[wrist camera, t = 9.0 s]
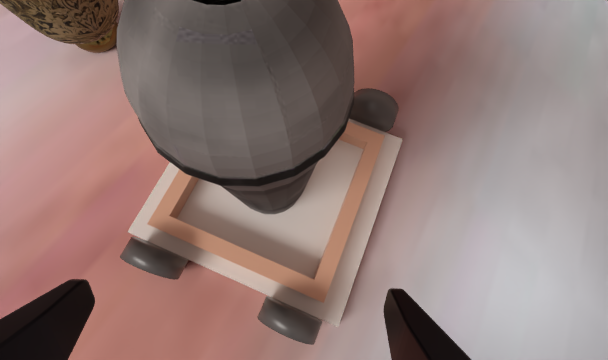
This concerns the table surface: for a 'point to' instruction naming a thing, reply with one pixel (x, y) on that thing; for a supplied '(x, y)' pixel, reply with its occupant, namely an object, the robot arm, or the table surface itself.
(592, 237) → the table surface
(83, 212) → the table surface
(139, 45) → the beverage cup
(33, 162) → the table surface
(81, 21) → the cup
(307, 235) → the chassis
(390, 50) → the table surface
